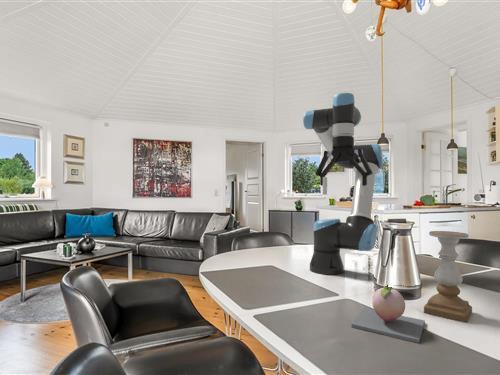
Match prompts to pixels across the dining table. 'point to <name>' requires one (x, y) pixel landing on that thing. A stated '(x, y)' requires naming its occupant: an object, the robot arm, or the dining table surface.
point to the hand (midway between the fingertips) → (342, 194)
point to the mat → (390, 325)
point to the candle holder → (448, 281)
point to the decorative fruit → (388, 303)
